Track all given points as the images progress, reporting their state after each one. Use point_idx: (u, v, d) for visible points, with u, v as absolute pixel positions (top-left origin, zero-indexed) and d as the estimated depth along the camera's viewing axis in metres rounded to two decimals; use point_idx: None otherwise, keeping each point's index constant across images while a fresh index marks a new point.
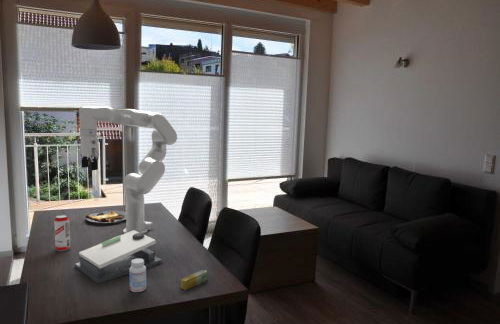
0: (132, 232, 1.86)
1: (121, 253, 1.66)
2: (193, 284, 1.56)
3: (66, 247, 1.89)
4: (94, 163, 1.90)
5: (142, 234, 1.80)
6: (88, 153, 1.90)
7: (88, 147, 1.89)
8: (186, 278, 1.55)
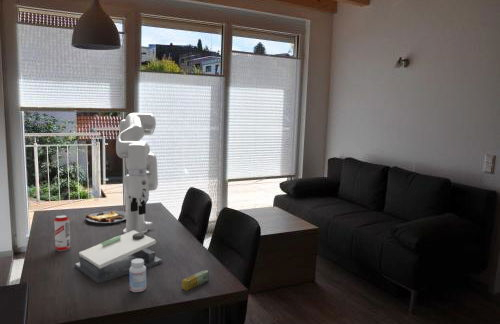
0: (132, 232, 1.86)
1: (121, 253, 1.66)
2: (194, 284, 1.56)
3: (66, 247, 1.89)
4: (142, 207, 1.75)
5: (142, 234, 1.80)
6: (138, 195, 1.73)
7: (138, 188, 1.72)
8: (187, 279, 1.55)
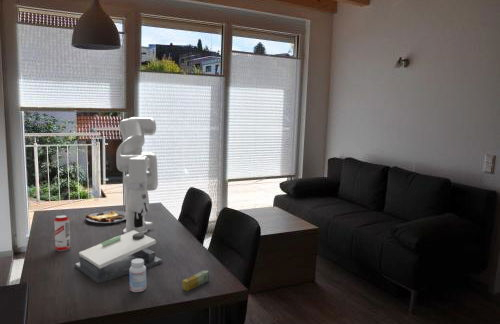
0: (132, 232, 1.86)
1: (121, 253, 1.66)
2: (195, 285, 1.56)
3: (66, 247, 1.89)
4: (139, 220, 1.77)
5: (142, 234, 1.80)
6: (138, 208, 1.73)
7: (138, 202, 1.73)
8: (188, 279, 1.54)
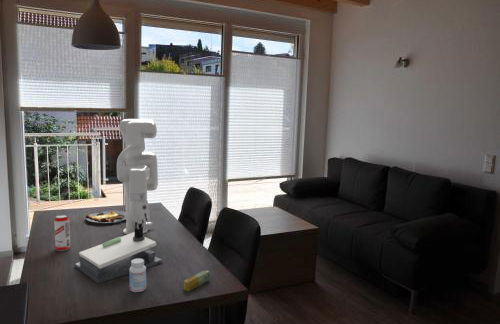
0: (133, 233, 1.86)
1: (122, 254, 1.66)
2: (196, 285, 1.56)
3: (66, 247, 1.89)
4: (139, 230, 1.78)
5: None
6: (138, 219, 1.74)
7: (139, 213, 1.74)
8: (189, 279, 1.54)
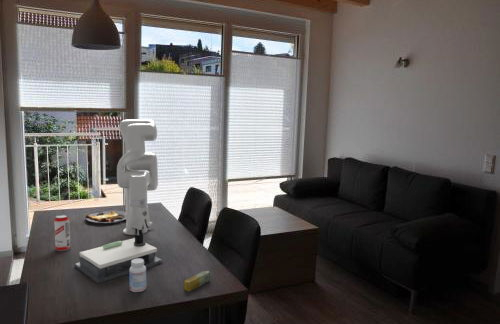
0: (133, 239, 1.87)
1: (122, 257, 1.66)
2: (196, 285, 1.56)
3: (66, 247, 1.89)
4: (140, 236, 1.78)
5: (143, 242, 1.81)
6: (139, 225, 1.75)
7: (139, 219, 1.74)
8: (189, 279, 1.54)
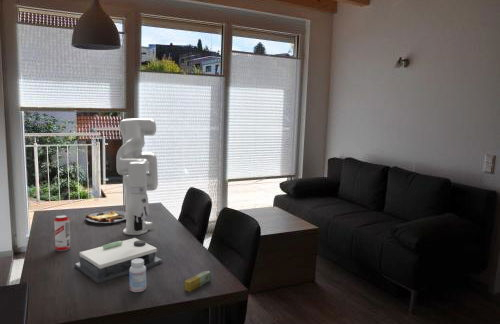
0: (133, 239, 1.87)
1: (122, 257, 1.66)
2: (197, 285, 1.55)
3: (66, 247, 1.89)
4: (139, 223, 1.78)
5: (143, 242, 1.81)
6: (138, 212, 1.74)
7: (138, 206, 1.74)
8: (190, 279, 1.54)
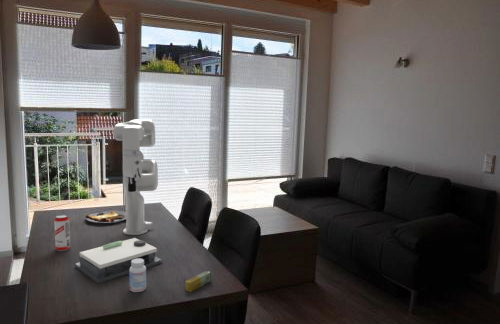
0: (133, 239, 1.87)
1: (122, 257, 1.66)
2: (197, 286, 1.55)
3: (66, 247, 1.89)
4: (133, 185, 1.91)
5: (143, 242, 1.81)
6: (132, 174, 1.87)
7: (132, 168, 1.87)
8: (191, 280, 1.54)
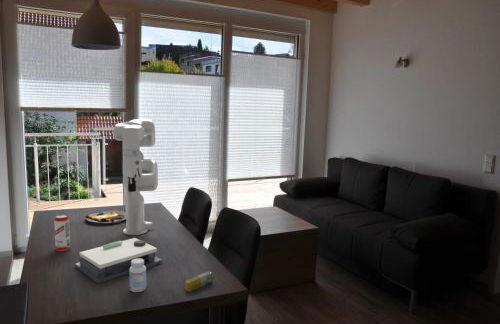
0: (133, 239, 1.87)
1: (122, 257, 1.66)
2: (197, 286, 1.55)
3: (66, 247, 1.89)
4: (133, 185, 1.91)
5: (143, 242, 1.81)
6: (131, 174, 1.87)
7: (132, 168, 1.87)
8: (190, 280, 1.54)
